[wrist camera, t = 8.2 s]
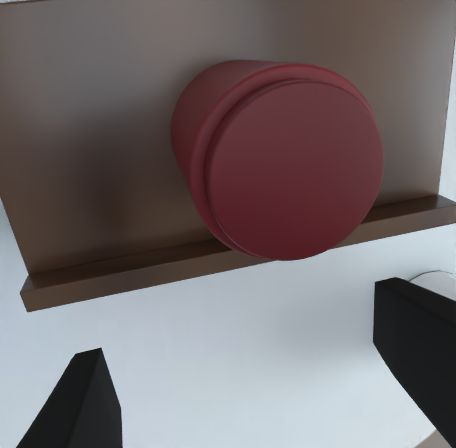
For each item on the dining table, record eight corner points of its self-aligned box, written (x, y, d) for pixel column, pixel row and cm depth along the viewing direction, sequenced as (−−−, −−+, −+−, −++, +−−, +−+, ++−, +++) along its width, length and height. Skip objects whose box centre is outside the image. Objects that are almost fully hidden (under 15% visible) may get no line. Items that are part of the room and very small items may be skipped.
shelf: (58, 236, 19) (26, 313, 13) (-10, 22, 15) (-93, 4, 10) (372, 178, 21) (458, 222, 16) (380, -19, 18) (495, -53, 12)
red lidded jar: (182, 207, 14) (208, 291, 9) (159, 69, 12) (176, 80, 7) (305, 185, 15) (391, 252, 10) (300, 51, 13) (405, 49, 8)
